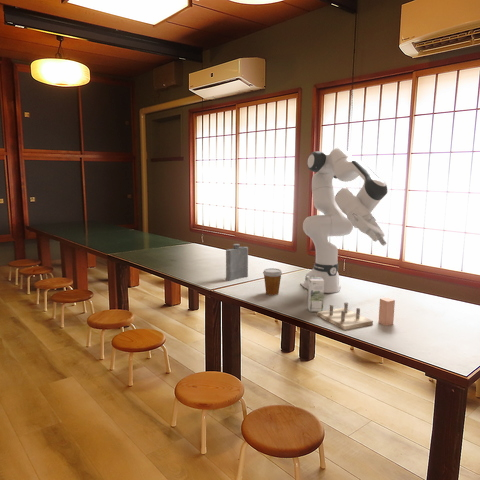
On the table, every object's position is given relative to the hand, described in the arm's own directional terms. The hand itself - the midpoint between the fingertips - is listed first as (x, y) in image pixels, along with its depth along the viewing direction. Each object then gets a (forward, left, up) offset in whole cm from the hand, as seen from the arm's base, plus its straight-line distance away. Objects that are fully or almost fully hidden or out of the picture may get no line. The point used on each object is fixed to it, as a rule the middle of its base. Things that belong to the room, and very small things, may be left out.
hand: (380, 242), depth 165 cm
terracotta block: (+6, 0, -32) cm, 33 cm away
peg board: (-4, -13, -32) cm, 35 cm away
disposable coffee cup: (-49, -22, -33) cm, 63 cm away
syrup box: (-19, -17, -33) cm, 42 cm away
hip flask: (-84, -26, -33) cm, 94 cm away
